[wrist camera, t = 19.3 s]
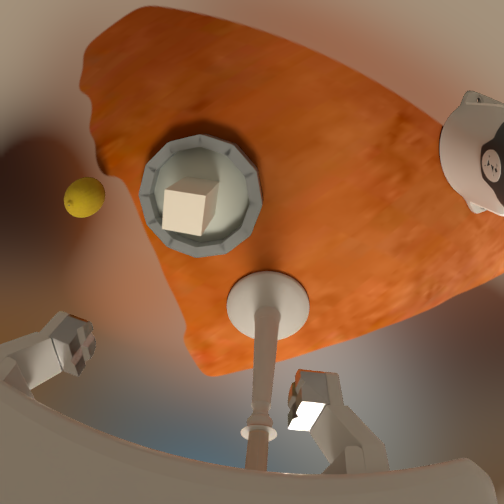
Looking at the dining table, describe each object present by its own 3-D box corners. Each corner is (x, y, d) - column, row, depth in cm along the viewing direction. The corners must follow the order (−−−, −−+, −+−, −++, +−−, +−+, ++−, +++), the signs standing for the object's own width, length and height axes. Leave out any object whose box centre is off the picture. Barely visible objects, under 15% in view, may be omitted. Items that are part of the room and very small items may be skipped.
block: (219, 181, 38) (205, 195, 31) (214, 214, 40) (201, 236, 33) (185, 176, 38) (164, 189, 31) (182, 209, 40) (161, 229, 33)
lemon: (81, 198, 41) (51, 214, 34) (90, 167, 39) (58, 178, 32) (108, 213, 42) (80, 231, 35) (118, 181, 40) (89, 194, 32)
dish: (249, 124, 35) (247, 124, 33) (270, 240, 42) (269, 248, 39) (136, 151, 38) (128, 153, 35) (164, 255, 44) (158, 262, 42)
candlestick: (309, 336, 48) (322, 510, 21) (233, 339, 50) (199, 507, 22) (308, 268, 43) (336, 466, 16) (221, 273, 45) (158, 460, 17)
